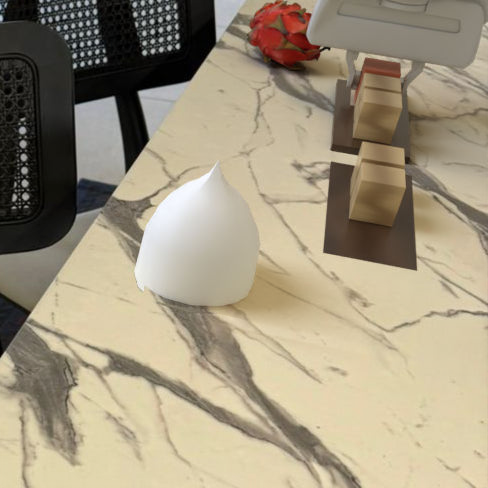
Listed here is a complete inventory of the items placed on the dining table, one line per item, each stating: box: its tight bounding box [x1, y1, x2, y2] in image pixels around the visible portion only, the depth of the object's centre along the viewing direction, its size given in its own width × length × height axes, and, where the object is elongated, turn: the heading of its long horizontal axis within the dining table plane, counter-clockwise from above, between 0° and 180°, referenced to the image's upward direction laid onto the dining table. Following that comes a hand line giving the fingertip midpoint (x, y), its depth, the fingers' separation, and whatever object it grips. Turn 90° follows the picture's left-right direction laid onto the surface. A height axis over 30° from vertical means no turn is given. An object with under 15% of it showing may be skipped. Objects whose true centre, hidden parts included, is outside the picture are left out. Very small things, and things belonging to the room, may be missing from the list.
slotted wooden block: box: [330, 73, 412, 165], centre depth 126 cm, size 9×22×5 cm, turn 165°
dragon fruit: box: [246, 0, 332, 71], centre depth 138 cm, size 8×8×12 cm
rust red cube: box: [355, 56, 402, 103], centre depth 129 cm, size 4×4×4 cm
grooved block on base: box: [322, 142, 418, 272], centre depth 106 cm, size 9×22×5 cm, turn 165°
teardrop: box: [133, 159, 261, 315], centre depth 91 cm, size 11×11×12 cm
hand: (374, 90), depth 130 cm, fingers closed on rust red cube, 4 cm apart
